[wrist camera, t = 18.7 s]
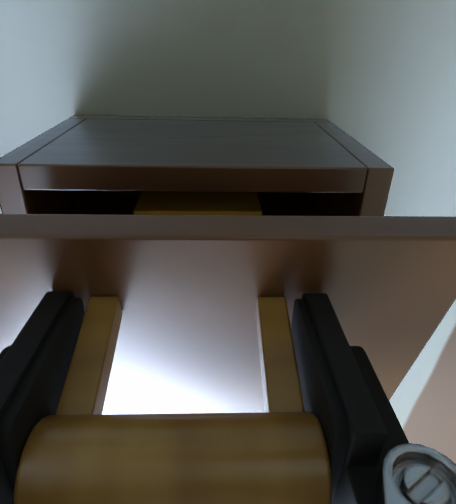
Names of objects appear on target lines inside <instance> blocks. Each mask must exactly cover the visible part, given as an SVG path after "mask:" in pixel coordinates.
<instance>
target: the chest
mask: <svg viewBox="0 0 456 504" xmlns="http://www.w3.org/2000/svg"><path fill="white" fill-rule="evenodd" d="M393 171H394V168H393V167H391V166H390V165H388V164H387V163H386V162H384V161H383V160H382V159H380V158H379V157H378V156H376V155H375V154H374V153H372V152H371V151H370V150H368V149H367V148H365V147H364V146H363V145H361V144H360V143H359V142H357V141H356V140H355V139H353V138H352V137H351V136H349V135H348V134H346V133H345V132H344V131H342V130H341V129H340V128H338V127H337V126H336V125H334V124H333V123H331V122H330V121H329V120H327V119H278V118H214V117H150V116H86V115H74V116H72V117H70V118H69V119H67V120H65V121H63V122H62V123H60V124H58V125H56V126H55V127H53V128H51V129H49V130H48V131H46V132H44V133H42V134H41V135H39V136H37V137H35V138H34V139H32V140H30V141H29V142H27V143H25V144H23V145H22V146H20V147H18V148H16V149H15V150H13V151H11V152H9V153H8V154H6V155H4V156H2V157H1V158H0V207H1V211H2V214H91V215H134V213H133V211H134V209H135V207H136V205H137V202H138V200H139V198H140V196H141V194H142V191H196V192H257V195H258V199H259V203H260V206H261V210H262V216H384V211H385V207H386V203H387V198H388V194H389V189H390V185H391V180H392V176H393Z"/></svg>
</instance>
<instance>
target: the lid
mask: <svg viewBox="0 0 456 504" xmlns="http://www.w3.org/2000/svg"><path fill="white" fill-rule="evenodd" d="M49 291H70V292H73V293H74V295H75V297H80V298H81V299H82V301H83V306H84V311H85V314H84V317H83V321H82V324H81V328H80V331H79V335H78V338H77V341H76V345H75V348H74V352H73V355H72V358H71V362H70V365H69V369H68V372H67V376H66V379H65V382H64V386H63V389H62V393H61V396H60V400H59V403H58V406H57V410H56V413H55V415H48V416H46V417H44V418H42V419H40V420H39V421H38V422H37V423H36V425H35V426H34V427H33V429H32V431H31V432H30V434H29V436H28V438H27V441H26V443H25V446H24V448H23V451H22V454H21V458H20V461H19V465H18V469H17V474H16V481H15V488H14V504H332V476H331V466H330V458H329V452H328V447H327V442H326V438H325V435H324V432H323V429H322V426H321V424H320V421H319V419H318V417H317V416H316V415H315V414H313V413H311V412H305V408H304V402H303V396H302V390H301V384H300V378H299V373H298V367H297V361H296V355H295V349H294V343H293V337H292V331H291V323H292V315H293V307H294V301H295V299H302V295H303V294H304V293H326V294H327V295H328V297H329V299H330V302H331V304H332V306H333V309H334V311H335V313H336V315H337V318H338V320H339V322H340V325H341V327H342V329H343V332H344V334H345V336H346V338H347V341H348V343H349V345H350V346H361V347H362V348H363V349H364V351H365V352H366V354H367V356H368V358H369V360H370V362H371V364H372V367H373V369H374V371H375V373H376V375H377V377H378V379H379V381H380V383H381V385H382V387H383V390H384V392H385V394H386V396H387V398H388V400H390V398H391V397H392V395H393V393H394V392H395V390H396V389H397V387H398V386H399V384H400V383H401V381H402V380H403V378H404V377H405V375H406V374H407V372H408V371H409V369H410V368H411V366H412V365H413V363H414V362H415V360H416V359H417V357H418V355H419V354H420V352H421V351H422V349H423V348H424V346H425V345H426V343H427V342H428V340H429V339H430V337H431V336H432V334H433V333H434V331H435V330H436V328H437V327H438V325H439V324H440V322H441V321H442V319H443V317H444V316H445V314H446V313H447V311H448V310H449V308H450V307H451V305H452V304H453V302H454V301H455V299H456V217H413V216H252V215H91V214H0V353H1V352H2V350H3V349H4V348H5V347H7V346H9V345H12V343H13V342H14V340H15V339H16V337H17V336H18V334H19V333H20V331H21V330H22V328H23V327H24V325H25V324H26V322H27V321H28V319H29V318H30V316H31V315H32V313H33V312H34V310H35V309H36V307H37V306H38V304H39V303H40V301H41V300H42V298H43V297H44V295H45V294H46V293H47V292H49Z"/></svg>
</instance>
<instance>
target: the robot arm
mask: <svg viewBox="0 0 456 504" xmlns="http://www.w3.org/2000/svg"><path fill="white" fill-rule="evenodd" d="M84 314H85V311H84V306H83V301H82V299H81V298H80V297H75V295H74V293H73V292H70V291H49V292H47V293H46V294H45V295H44V297H43V298H42V300H41V301H40V303H39V304H38V306H37V307H36V309H35V310H34V312H33V313H32V315H31V316H30V318H29V319H28V321H27V322H26V324H25V325H24V327H23V328H22V330H21V331H20V333H19V334H18V336H17V337H16V339H15V340H14V342H13V343H12V345H9V346H7V347H5V348H4V349H3V350H2V352H1V353H0V504H14V488H15V481H16V474H17V469H18V465H19V461H20V458H21V454H22V451H23V448H24V446H25V443H26V441H27V438H28V436H29V434H30V432H31V431H32V429H33V427H34V426H35V425H36V423H37V422H38V421H39V420H40V419H42V418H44V417H46V416H48V415H55V413H56V410H57V406H58V403H59V400H60V396H61V393H62V389H63V386H64V382H65V379H66V376H67V372H68V369H69V365H70V362H71V358H72V355H73V352H74V348H75V345H76V341H77V338H78V335H79V331H80V328H81V324H82V321H83V317H84ZM291 331H292V337H293V343H294V349H295V355H296V361H297V367H298V373H299V378H300V384H301V390H302V396H303V402H304V408H305V412H311V413H313V414H315V415H316V416H317V417H318V419H319V421H320V424H321V426H322V429H323V432H324V435H325V438H326V442H327V447H328V452H329V458H330V466H331V476H332V504H456V464H455V463H454V462H453V461H451V460H450V459H449V458H448V457H446V456H445V455H443V454H441V453H440V452H438V451H436V450H435V449H432V448H429V447H426V446H424V445H420V444H411V443H409V442H408V440H407V438H406V436H405V434H404V431H403V429H402V427H401V425H400V423H399V421H398V419H397V417H396V415H395V413H394V411H393V408H392V406H391V404H390V402H389V400H388V398H387V396H386V394H385V392H384V390H383V387H382V385H381V383H380V381H379V379H378V377H377V375H376V373H375V371H374V369H373V367H372V364H371V362H370V360H369V358H368V356H367V354H366V352H365V351H364V349H363V348H362V347H361V346H350V345H349V343H348V341H347V338H346V336H345V334H344V332H343V329H342V327H341V325H340V322H339V320H338V318H337V315H336V313H335V311H334V309H333V306H332V304H331V302H330V299H329V297H328V295H327V294H326V293H304V294H303V295H302V299H295V301H294V307H293V315H292V323H291Z"/></svg>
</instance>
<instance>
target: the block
mask: <svg viewBox="0 0 456 504" xmlns="http://www.w3.org/2000/svg"><path fill="white" fill-rule="evenodd" d="M133 213H134V215H252V216H262V210H261V206H260V203H259V199H258V195H257V192H196V191H142V194H141V196H140V198H139V200H138V202H137V205H136V207H135V209H134V211H133Z"/></svg>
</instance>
